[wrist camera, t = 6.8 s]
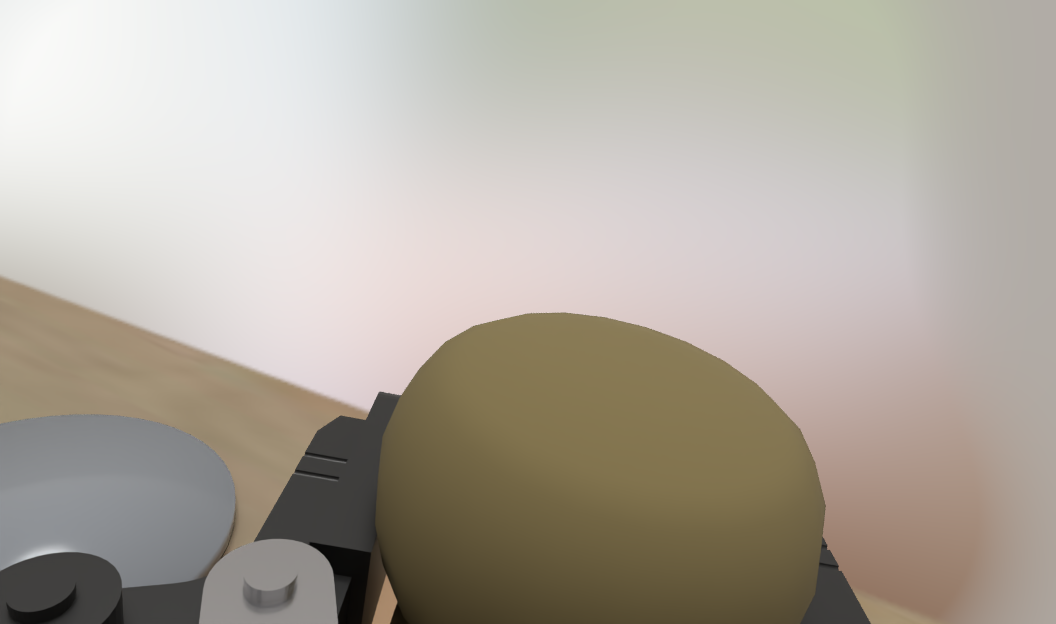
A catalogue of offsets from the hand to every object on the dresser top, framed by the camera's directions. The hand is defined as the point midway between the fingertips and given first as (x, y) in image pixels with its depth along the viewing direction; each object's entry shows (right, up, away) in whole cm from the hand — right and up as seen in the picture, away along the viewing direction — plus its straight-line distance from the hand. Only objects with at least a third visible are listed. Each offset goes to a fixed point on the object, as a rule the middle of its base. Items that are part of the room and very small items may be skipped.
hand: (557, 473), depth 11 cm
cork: (-2, -8, 0) cm, 8 cm away
